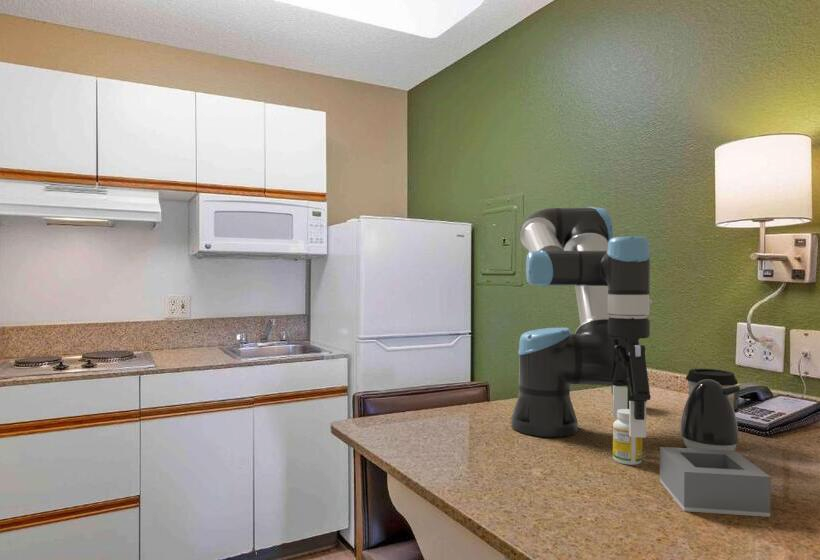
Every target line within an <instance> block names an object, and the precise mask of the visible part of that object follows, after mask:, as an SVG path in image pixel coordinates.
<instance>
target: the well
mask: <svg viewBox="0 0 820 560" xmlns="http://www.w3.org/2000/svg"><path fill="white" fill-rule="evenodd" d="M659 481H660V483H661V484H662V486H663V487H664V488H665V489H666V491H667V493H669V494H670V496H671V497H672V498H673V499H674V501H675V502H676V504H678V506H679V507H680V508H681V509H682V510H683V512H689V513H691V512H692V513H693V512H694V513H707V514H720V515H734V516H735V515H736V516H752V517H764V518H770V517H771V494H772V493H771V491H772V490H771V485H772V484H771V481H772V477H771V475H769V474H767V473H766V472H765V471H763V470H762V469H760V468H759V467H758V466H757V465H755V464H754V463H752V462H751V461H750V460H748V459H747V458H745V457H744V456H743V455H741V454H740V453H738V452H737V451H736V450H734V451H733V450H713V449H693V448H687V447H669V446H668V447H667V446H659Z"/></svg>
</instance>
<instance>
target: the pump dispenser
mask: <svg viewBox="0 0 820 560" xmlns="http://www.w3.org/2000/svg"><path fill="white" fill-rule="evenodd" d="M738 392H741V387H740V386H739V385H735V386H734V387H729V388H723V387H722V385H721V384H720V383H718V382H717V381H714V380H711V379H705V380H701V381H699V382H698V383H697V384H696V385H695V386H694V387H693V389H692V391H691V393H690V395H689V394H688V397H687V399H686V402H685V404H684V407H683V410H682V416H681V421H680V422H681V423H680V431H679V432H680V435H681V438H682V441H683V443H684V445H685V448H693V449H713V450H733V451H736V450H735V449H736V447H737V445H738V443H739V441H740V437H739V436H740V435H739V428H738V426H739V425H738V420H737V416H736V412H735V410H734V405H733V406H732V403H731V401H730V399H729V397H728V395H730V394H733V393H734V394H736V393H738Z"/></svg>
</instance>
